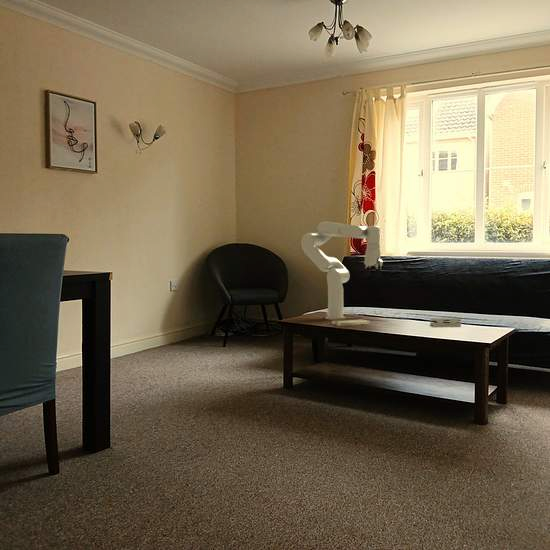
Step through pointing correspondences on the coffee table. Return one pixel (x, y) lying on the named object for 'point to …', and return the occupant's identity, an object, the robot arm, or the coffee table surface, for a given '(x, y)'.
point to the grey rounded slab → (440, 322)
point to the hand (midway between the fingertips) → (372, 275)
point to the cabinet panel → (349, 321)
